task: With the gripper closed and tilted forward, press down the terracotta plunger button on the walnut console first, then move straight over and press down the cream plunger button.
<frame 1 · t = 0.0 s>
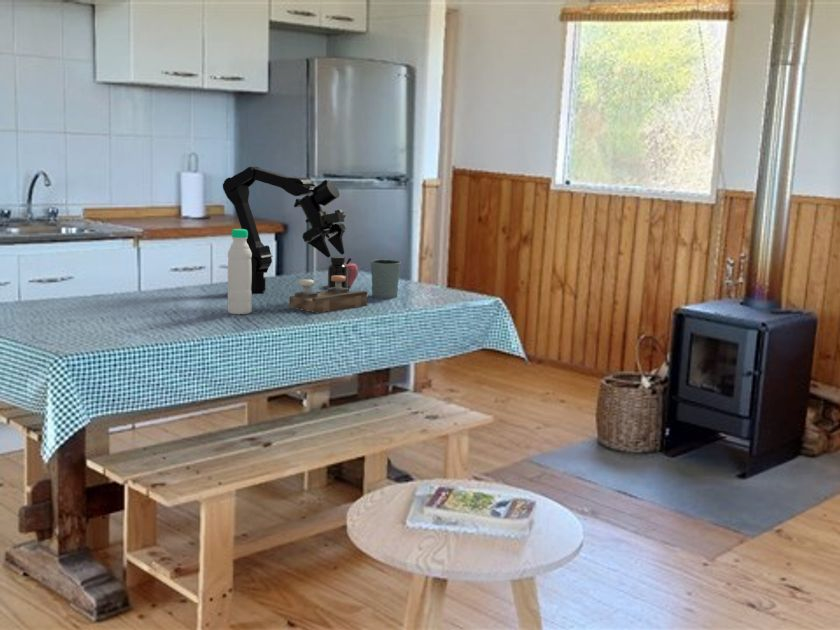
hand: (336, 255, 317), 15 cm above the table, tool tilted 35°, fingers open, 9 cm apart
water bottle: (239, 313, 294), on the table
grey green plant pot: (384, 297, 332), on the table
supplement bottle: (337, 292, 338), on the table
button terracotta: (338, 285, 315), point 6 cm above the table, slide at 0.0 cm
button cream: (306, 289, 305), point 6 cm above the table, slide at 0.0 cm
console: (322, 305, 311), on the table
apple: (346, 286, 350), on the table
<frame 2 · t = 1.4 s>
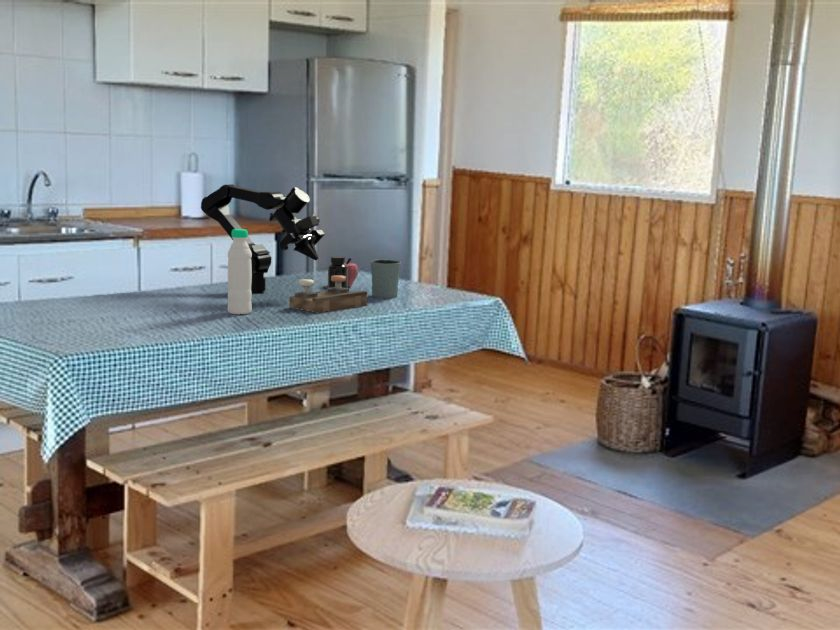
hand: (316, 259, 318), 13 cm above the table, tool tilted 45°, fingers closed
nothing on the table moved.
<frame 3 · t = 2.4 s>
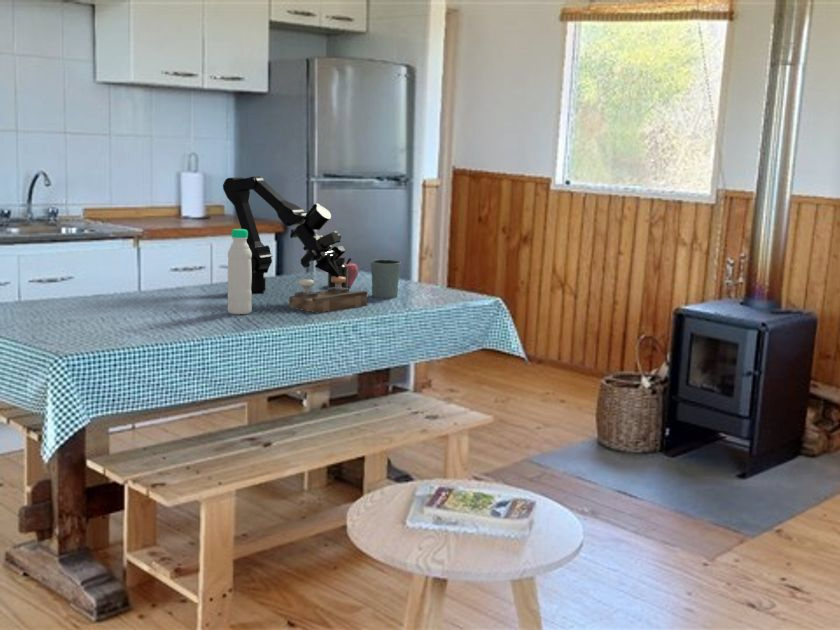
hand: (338, 276, 315), 9 cm above the table, tool tilted 45°, fingers closed, pressing on button terracotta
button terracotta: (338, 286, 316), point 5 cm above the table, slide at 0.3 cm, touching gripper
everything else where it was.
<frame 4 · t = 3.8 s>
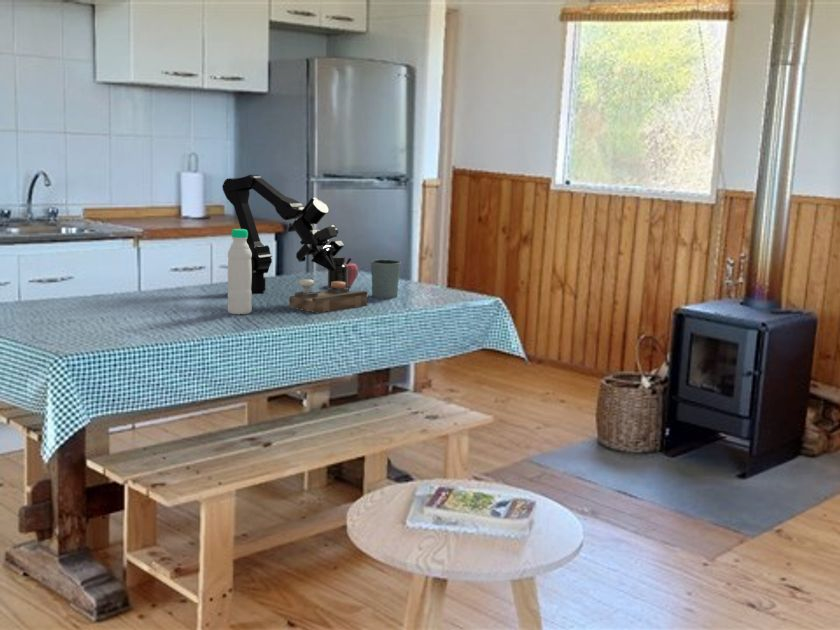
hand: (334, 271, 313), 11 cm above the table, tool tilted 45°, fingers closed
button terracotta: (338, 291, 316), point 4 cm above the table, slide at 1.9 cm
everything else where it was.
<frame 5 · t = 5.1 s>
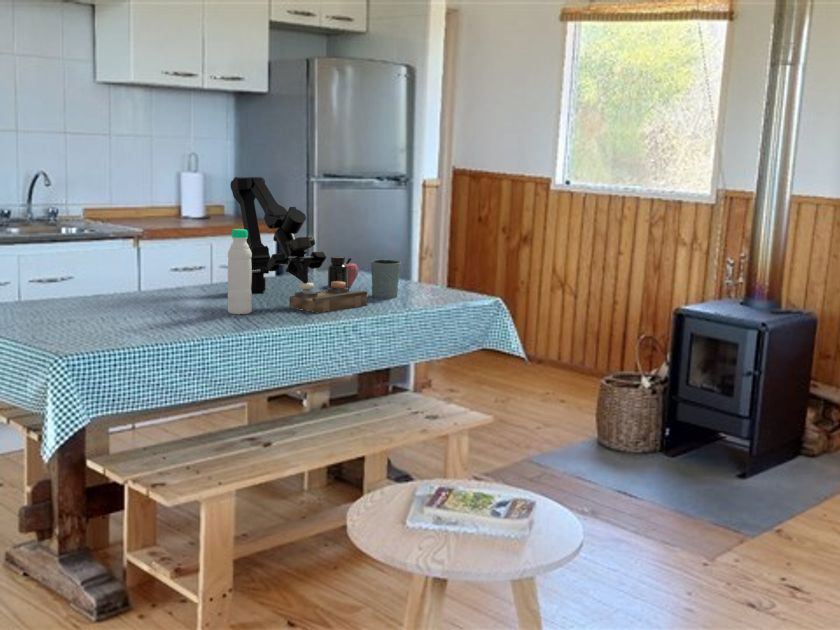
hand: (306, 282, 305), 8 cm above the table, tool tilted 45°, fingers closed, pressing on button cream
button cream: (306, 292, 305), point 5 cm above the table, slide at 1.0 cm, touching gripper
everything else where it was.
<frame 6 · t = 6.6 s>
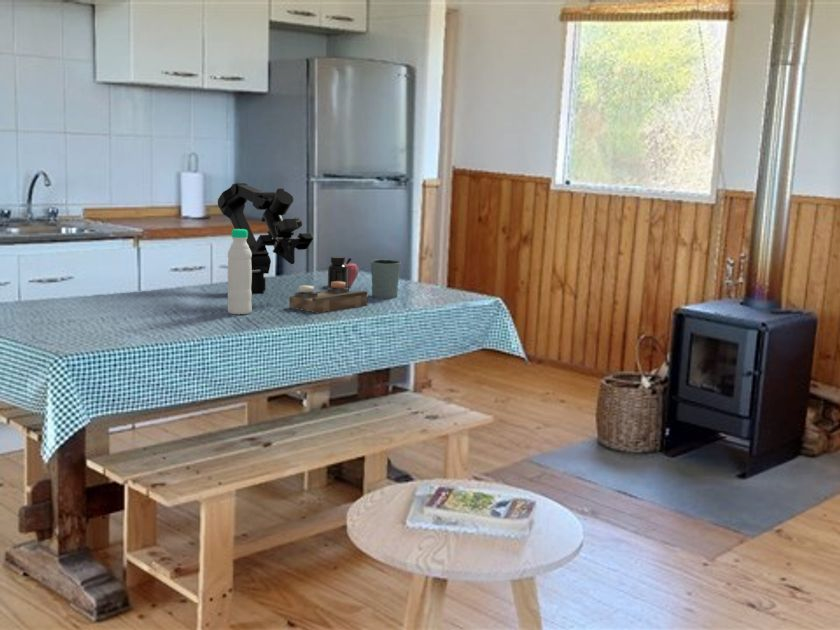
hand: (293, 263, 310), 13 cm above the table, tool tilted 45°, fingers closed
button cream: (306, 295, 305), point 4 cm above the table, slide at 1.9 cm
everything else where it was.
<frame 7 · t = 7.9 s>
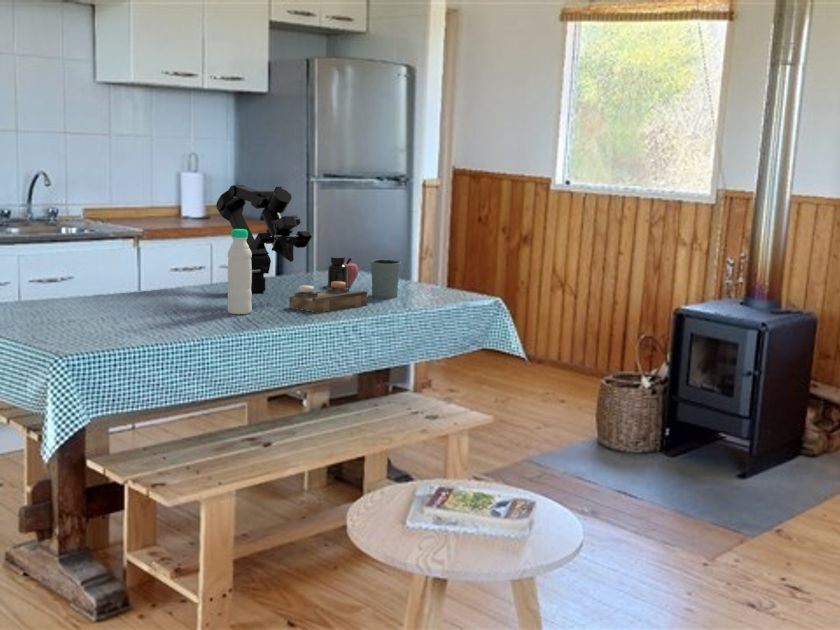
hand: (291, 260, 310), 14 cm above the table, tool tilted 45°, fingers closed
nothing on the table moved.
at the end: button terracotta slide at 1.9 cm; button cream slide at 1.9 cm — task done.
